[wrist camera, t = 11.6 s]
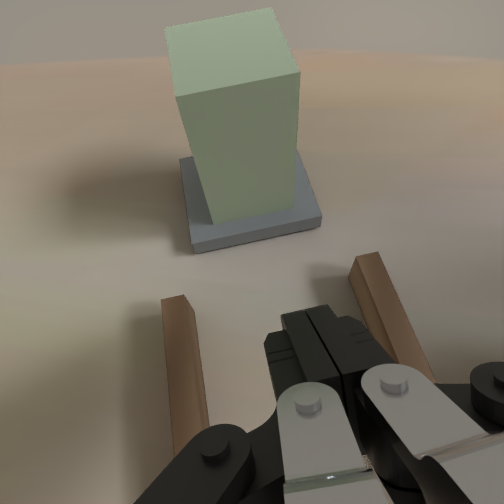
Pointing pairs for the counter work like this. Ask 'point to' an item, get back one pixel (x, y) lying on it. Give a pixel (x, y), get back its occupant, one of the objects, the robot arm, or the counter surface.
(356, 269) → the shelf lane
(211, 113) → the block
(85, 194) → the counter surface
